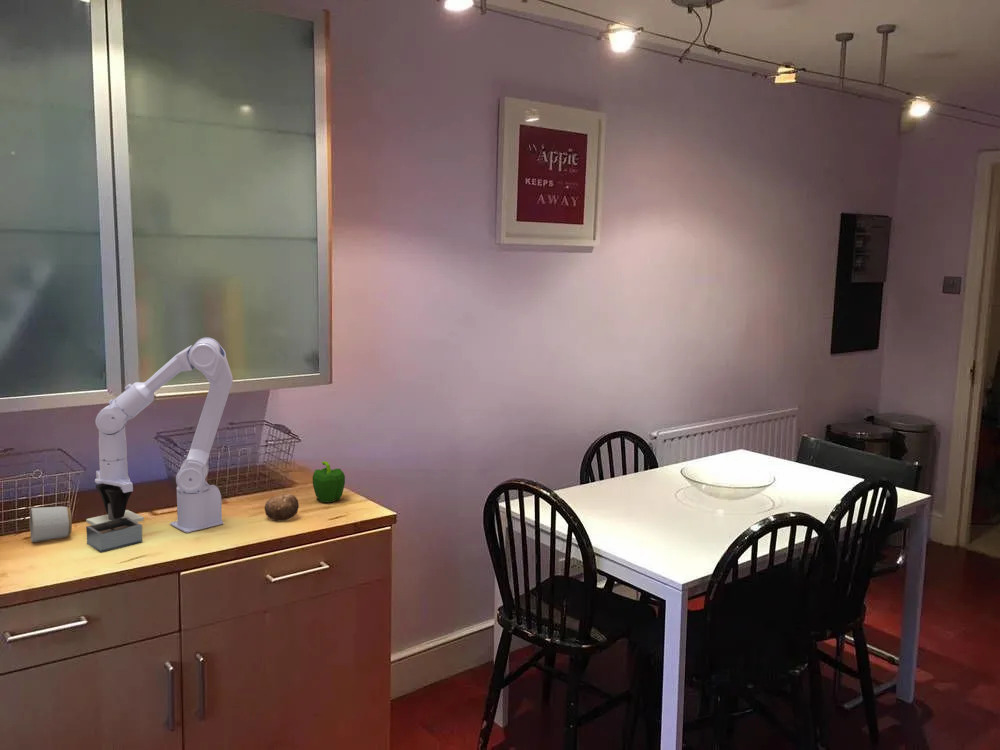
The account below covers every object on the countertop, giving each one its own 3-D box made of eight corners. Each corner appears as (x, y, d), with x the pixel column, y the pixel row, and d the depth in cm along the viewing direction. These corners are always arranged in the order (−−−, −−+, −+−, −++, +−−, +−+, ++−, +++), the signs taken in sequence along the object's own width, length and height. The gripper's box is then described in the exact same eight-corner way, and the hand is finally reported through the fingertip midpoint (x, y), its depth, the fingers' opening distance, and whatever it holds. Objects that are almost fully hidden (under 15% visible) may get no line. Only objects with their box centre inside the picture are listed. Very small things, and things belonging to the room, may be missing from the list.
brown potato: (285, 496, 209) (282, 481, 205) (307, 514, 206) (304, 499, 201) (260, 517, 205) (256, 502, 200) (282, 535, 201) (278, 520, 197)
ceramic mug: (73, 540, 184) (72, 508, 183) (33, 546, 179) (31, 513, 178) (67, 527, 192) (65, 496, 191) (28, 533, 188) (26, 501, 187)
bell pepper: (347, 503, 216) (348, 466, 214) (315, 506, 213) (315, 468, 211) (341, 494, 224) (341, 457, 222) (310, 496, 220) (310, 459, 219)
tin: (128, 534, 189) (127, 517, 188) (142, 542, 184) (141, 524, 183) (87, 543, 182) (86, 526, 181) (100, 552, 177) (100, 534, 177)
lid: (127, 513, 197) (126, 495, 196) (143, 520, 192) (143, 502, 192) (86, 522, 190) (85, 504, 189) (102, 530, 185) (101, 511, 184)
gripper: (81, 454, 191) (84, 511, 193) (109, 467, 181) (111, 527, 183) (112, 449, 196) (114, 505, 198) (141, 462, 186) (143, 520, 188)
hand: (115, 515), depth 191 cm, fingers closed on lid, 3 cm apart
